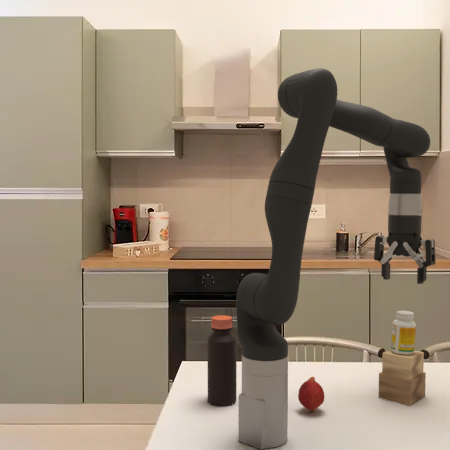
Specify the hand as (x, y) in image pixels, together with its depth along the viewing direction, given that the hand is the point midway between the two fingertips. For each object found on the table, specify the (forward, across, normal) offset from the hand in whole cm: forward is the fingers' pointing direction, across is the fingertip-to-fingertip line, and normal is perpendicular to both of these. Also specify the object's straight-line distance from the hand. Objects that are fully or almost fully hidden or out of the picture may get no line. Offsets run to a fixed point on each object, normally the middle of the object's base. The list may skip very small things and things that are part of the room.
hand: (403, 281), depth 138 cm
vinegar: (+28, -30, -31) cm, 51 cm away
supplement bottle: (+17, 0, 0) cm, 17 cm away
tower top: (+22, 0, 0) cm, 22 cm away
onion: (+28, -11, -22) cm, 37 cm away
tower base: (+28, 0, 0) cm, 28 cm away
